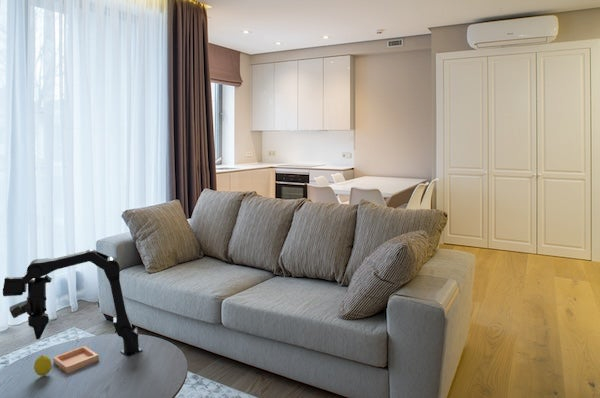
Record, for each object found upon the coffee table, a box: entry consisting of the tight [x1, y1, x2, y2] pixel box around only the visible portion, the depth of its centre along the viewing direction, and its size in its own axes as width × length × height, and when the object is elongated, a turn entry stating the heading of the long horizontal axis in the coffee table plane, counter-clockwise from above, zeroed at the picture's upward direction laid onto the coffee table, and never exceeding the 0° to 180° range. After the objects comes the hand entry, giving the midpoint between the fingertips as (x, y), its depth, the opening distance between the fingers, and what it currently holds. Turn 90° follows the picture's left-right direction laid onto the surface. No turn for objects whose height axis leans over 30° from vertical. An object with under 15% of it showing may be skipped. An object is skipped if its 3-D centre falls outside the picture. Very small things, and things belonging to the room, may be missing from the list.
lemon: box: [33, 354, 53, 377], centre depth 160 cm, size 6×6×8 cm
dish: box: [52, 345, 100, 374], centre depth 170 cm, size 12×12×2 cm
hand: (37, 334), depth 164 cm, fingers open, 9 cm apart
